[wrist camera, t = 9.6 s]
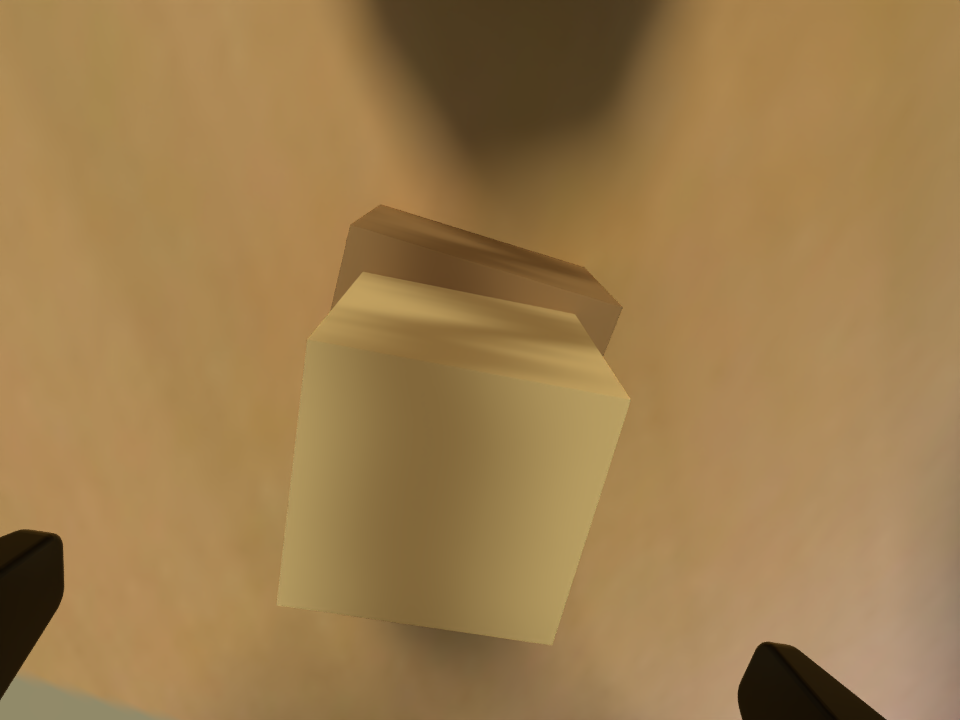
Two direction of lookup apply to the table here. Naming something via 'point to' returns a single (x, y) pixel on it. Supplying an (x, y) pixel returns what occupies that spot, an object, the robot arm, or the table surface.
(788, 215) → the table surface
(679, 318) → the table surface
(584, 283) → the walnut block
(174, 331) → the table surface
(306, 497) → the oak block
